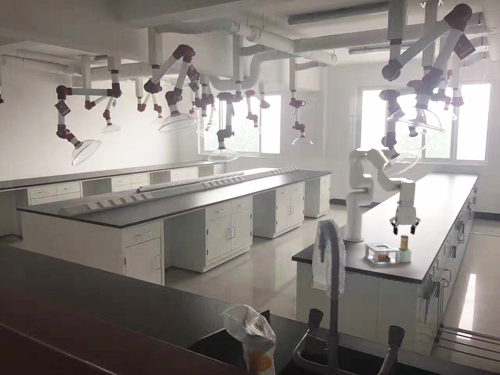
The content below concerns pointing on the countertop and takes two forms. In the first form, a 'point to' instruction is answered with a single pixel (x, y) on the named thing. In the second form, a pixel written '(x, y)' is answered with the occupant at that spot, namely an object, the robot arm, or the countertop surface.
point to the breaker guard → (386, 250)
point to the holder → (405, 256)
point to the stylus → (404, 243)
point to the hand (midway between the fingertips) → (403, 234)
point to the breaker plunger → (381, 255)
